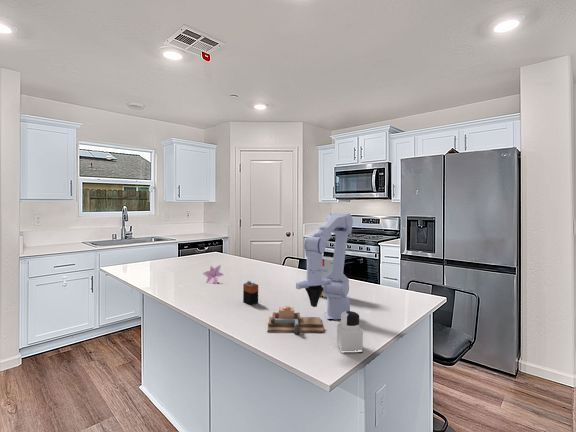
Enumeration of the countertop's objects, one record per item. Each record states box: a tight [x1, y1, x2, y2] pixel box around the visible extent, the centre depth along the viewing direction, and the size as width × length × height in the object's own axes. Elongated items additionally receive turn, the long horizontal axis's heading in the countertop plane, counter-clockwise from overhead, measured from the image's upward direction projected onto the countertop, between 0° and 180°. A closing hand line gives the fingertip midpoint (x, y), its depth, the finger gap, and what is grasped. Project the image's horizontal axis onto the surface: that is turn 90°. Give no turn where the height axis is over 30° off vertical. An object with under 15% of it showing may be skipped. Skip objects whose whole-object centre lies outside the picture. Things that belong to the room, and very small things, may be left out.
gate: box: [275, 319, 300, 335], centre depth 123 cm, size 9×8×3 cm
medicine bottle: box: [336, 310, 364, 351], centre depth 108 cm, size 7×7×12 cm
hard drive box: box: [320, 256, 342, 298], centre depth 170 cm, size 16×8×20 cm, turn 62°
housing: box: [267, 311, 324, 333], centre depth 128 cm, size 21×14×3 cm, turn 90°
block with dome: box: [278, 305, 295, 319], centre depth 130 cm, size 6×4×6 cm, turn 91°
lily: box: [202, 264, 224, 285], centre depth 196 cm, size 12×12×10 cm
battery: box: [242, 280, 259, 306], centre depth 156 cm, size 4×7×10 cm, turn 44°
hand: (313, 306), depth 119 cm, fingers closed
